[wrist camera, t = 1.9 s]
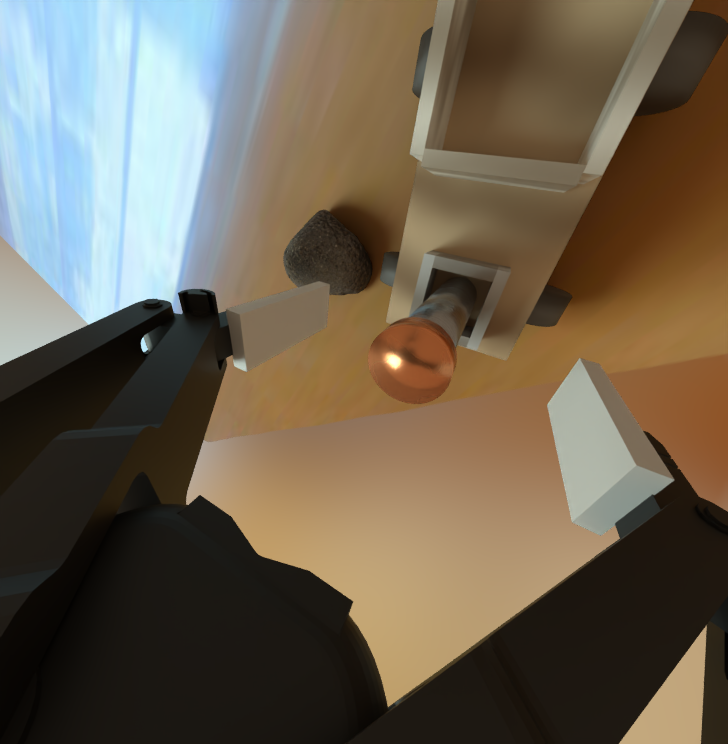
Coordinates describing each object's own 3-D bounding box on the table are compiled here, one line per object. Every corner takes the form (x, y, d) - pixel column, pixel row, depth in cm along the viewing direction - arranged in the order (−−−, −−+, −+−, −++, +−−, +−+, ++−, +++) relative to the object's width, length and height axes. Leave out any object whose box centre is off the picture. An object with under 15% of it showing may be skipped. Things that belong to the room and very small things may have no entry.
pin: (441, 268, 21) (375, 314, 10) (488, 279, 20) (465, 343, 9) (429, 311, 23) (362, 385, 12) (471, 323, 22) (436, 416, 11)
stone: (382, 223, 32) (306, 174, 27) (389, 275, 29) (303, 230, 23) (341, 275, 40) (275, 244, 34) (343, 321, 36) (269, 295, 31)
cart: (441, 12, 20) (382, -171, 11) (731, -4, 15) (1098, -377, 6) (387, 295, 32) (337, 325, 23) (537, 338, 27) (552, 400, 18)
